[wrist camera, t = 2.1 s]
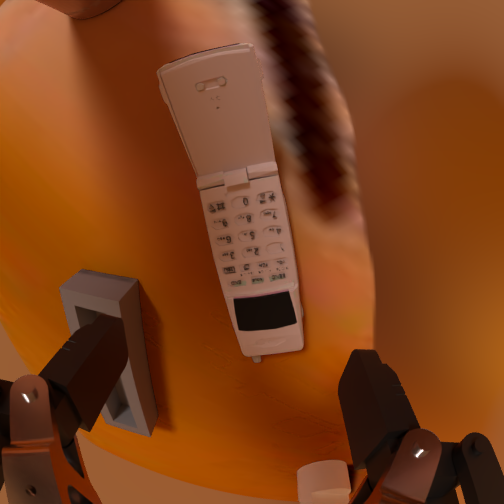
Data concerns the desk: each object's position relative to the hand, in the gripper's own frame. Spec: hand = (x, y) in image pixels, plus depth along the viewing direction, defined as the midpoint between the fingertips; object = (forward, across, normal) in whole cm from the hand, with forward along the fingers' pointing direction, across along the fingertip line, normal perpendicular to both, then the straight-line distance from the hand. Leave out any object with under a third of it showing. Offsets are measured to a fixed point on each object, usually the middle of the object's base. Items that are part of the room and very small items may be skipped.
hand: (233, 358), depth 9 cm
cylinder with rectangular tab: (+14, -17, +41) cm, 46 cm away
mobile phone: (+14, 0, 0) cm, 14 cm away
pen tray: (+14, +13, +16) cm, 25 cm away
